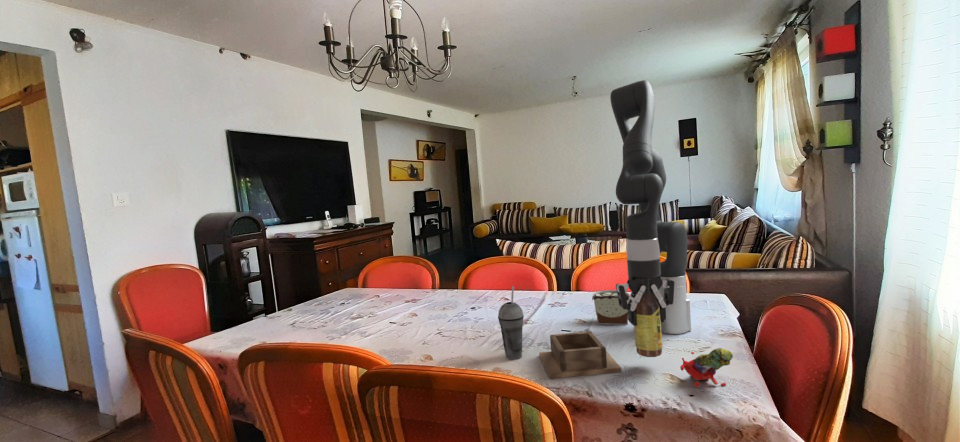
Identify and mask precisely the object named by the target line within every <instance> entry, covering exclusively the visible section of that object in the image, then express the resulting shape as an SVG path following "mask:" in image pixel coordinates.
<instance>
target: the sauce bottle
mask: <svg viewBox="0 0 960 442" xmlns="http://www.w3.org/2000/svg"><path fill="white" fill-rule="evenodd" d="M641 281H642V282H643V285H644V286H645V287H646V289H645V291H644V293H643V296H642V297H641V299H640V302H639V303H638V304H637V306H636V308H635V311H636V318H637V325H636V326H633V329H634V332H633V333H634V341H635V342H634V343H635V345H634V346H635V347H636V349H635V350H636V353H637V354H638V355H639V356H641V357H644V358H657V357H660V356H661V355H662V353H663V336H662V333H663V332H661V319H660V306H659V304H658V301H657V299H656V297H655V296H654V294H653V293H652V290H651V288H650V284H651V281H652V278H647V279H641Z"/></svg>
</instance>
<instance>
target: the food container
mask: <svg viewBox="0 0 960 442" xmlns="http://www.w3.org/2000/svg"><path fill="white" fill-rule="evenodd" d="M625 294H626V300H627V303H628V301H629V296H630V294H629V293H628V291H627V292H626V293H625ZM591 297H592V299H591V301H593V303H594V307H595V308H594V309H595V315H596V320H597V325H619V326H620V325H621V326H622V325H624V326H626V325H629V320H628V310H627V309H623V308H622V307H620V306H619V301H618V296H617V290H616V289H612V290H611V289H608V290H606V289H605V290H599V291H596V292H594V293H593V294H592V296H591Z"/></svg>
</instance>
